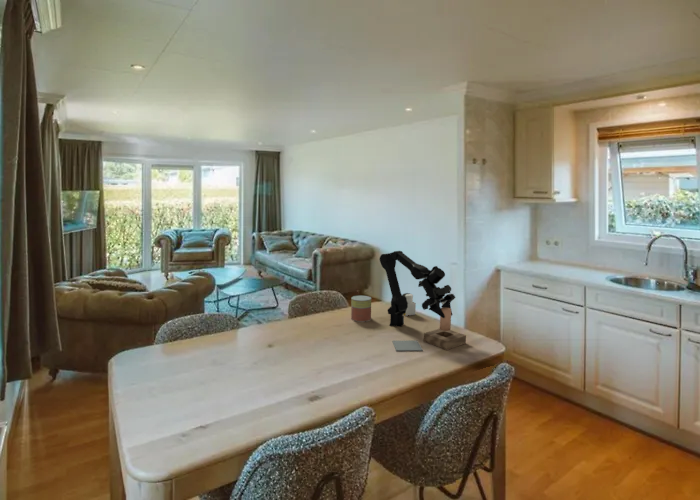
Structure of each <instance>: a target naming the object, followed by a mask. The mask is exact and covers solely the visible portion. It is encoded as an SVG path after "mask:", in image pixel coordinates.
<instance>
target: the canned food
mask: <svg viewBox="0 0 700 500" xmlns="http://www.w3.org/2000/svg"><path fill="white" fill-rule="evenodd" d="M350 298H351V303H350V304H351V307H350V308H351V313H350V317H351V318H350V319H351V320H352V321H353V320H354V322H357V321H358V322H359V323H364V322H365V321H366V322H369V321H371V320H372V297H371V296H368V295H353V296H351V297H350ZM366 322H365V323H366Z"/></svg>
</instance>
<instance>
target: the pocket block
mask: <svg viewBox="0 0 700 500" xmlns="http://www.w3.org/2000/svg"><path fill="white" fill-rule="evenodd" d="M423 342H424V343H427V344H430V345H433V346H435V347H438V348H440V349H443V350H446V351H447V350H450V349H453V348H456V347H459V346H462V345H465V344H466V343H467V335H466V334H463V333H461V332H458V331H454V330H453V329H450V331H442V330H440V328H437V329H433V330H430V331H427V332H423Z"/></svg>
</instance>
